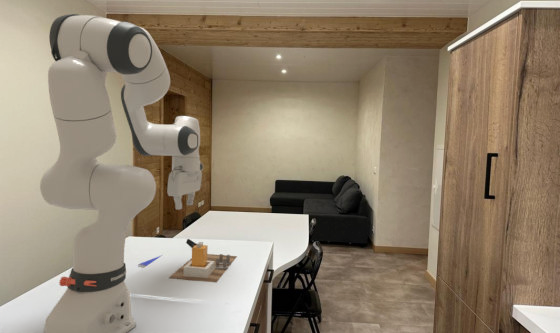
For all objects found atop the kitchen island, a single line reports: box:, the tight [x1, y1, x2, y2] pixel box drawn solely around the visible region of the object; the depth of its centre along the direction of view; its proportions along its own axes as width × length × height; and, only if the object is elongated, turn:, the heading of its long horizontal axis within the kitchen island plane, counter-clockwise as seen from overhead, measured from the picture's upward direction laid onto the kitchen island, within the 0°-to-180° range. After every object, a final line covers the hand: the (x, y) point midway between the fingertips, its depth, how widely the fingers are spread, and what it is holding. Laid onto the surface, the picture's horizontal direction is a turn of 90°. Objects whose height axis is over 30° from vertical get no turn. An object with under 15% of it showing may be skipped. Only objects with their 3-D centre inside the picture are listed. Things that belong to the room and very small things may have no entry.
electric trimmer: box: [185, 238, 198, 248], centre depth 156 cm, size 4×16×3 cm, turn 32°
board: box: [168, 253, 238, 283], centre depth 131 cm, size 28×16×5 cm, turn 173°
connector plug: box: [191, 241, 209, 267], centre depth 124 cm, size 4×4×10 cm
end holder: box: [183, 260, 215, 278], centre depth 124 cm, size 8×8×3 cm
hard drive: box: [137, 254, 163, 269], centre depth 136 cm, size 2×8×12 cm
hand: (184, 207), depth 123 cm, fingers open, 8 cm apart
